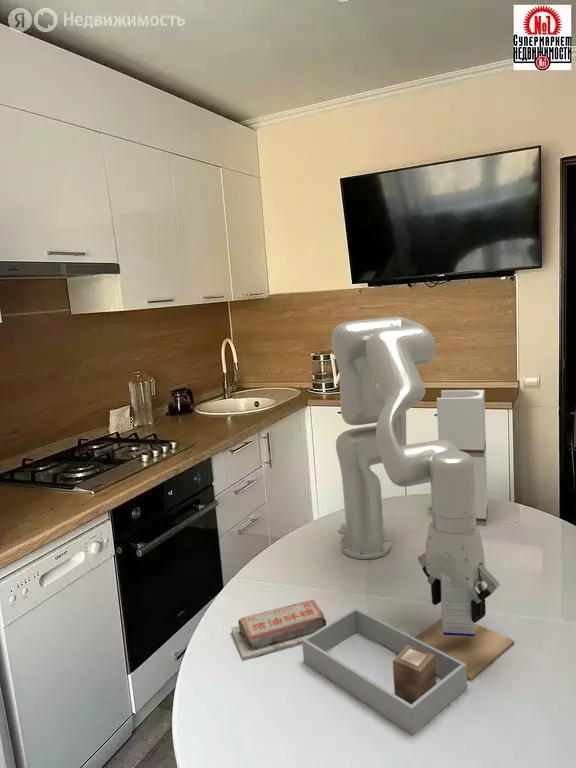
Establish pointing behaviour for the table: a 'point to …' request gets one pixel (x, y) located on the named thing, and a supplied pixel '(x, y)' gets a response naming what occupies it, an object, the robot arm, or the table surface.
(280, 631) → the packaged product
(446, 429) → the tall striped box
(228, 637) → the table surface
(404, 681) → the walnut block
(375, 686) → the grey bin
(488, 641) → the cork mat
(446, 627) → the supplement box
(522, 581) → the table surface
